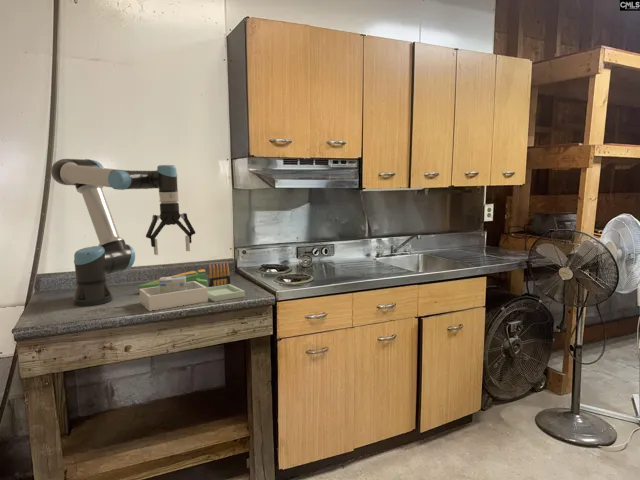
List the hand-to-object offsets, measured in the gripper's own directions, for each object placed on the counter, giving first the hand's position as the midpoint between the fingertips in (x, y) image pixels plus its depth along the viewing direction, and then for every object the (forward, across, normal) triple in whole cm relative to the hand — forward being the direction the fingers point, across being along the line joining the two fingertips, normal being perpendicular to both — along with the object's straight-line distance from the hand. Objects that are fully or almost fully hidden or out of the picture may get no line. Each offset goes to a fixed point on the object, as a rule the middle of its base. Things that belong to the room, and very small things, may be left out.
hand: (172, 252), depth 190 cm
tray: (+21, +20, -4) cm, 29 cm away
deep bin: (+21, -1, -1) cm, 21 cm away
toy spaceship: (+21, +7, +24) cm, 33 cm away
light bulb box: (+21, -1, -1) cm, 21 cm away
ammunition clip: (+21, +26, +12) cm, 35 cm away
